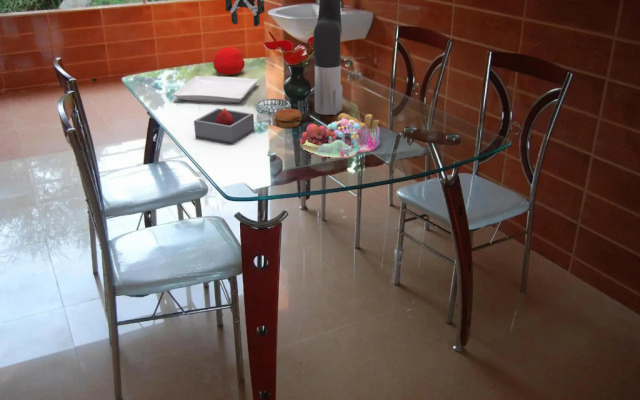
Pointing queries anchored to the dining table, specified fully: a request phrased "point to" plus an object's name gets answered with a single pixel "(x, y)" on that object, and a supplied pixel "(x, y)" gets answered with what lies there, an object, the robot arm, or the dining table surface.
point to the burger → (288, 118)
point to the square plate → (215, 89)
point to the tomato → (228, 61)
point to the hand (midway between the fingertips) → (245, 25)
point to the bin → (224, 127)
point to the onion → (224, 118)
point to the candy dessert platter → (341, 137)
